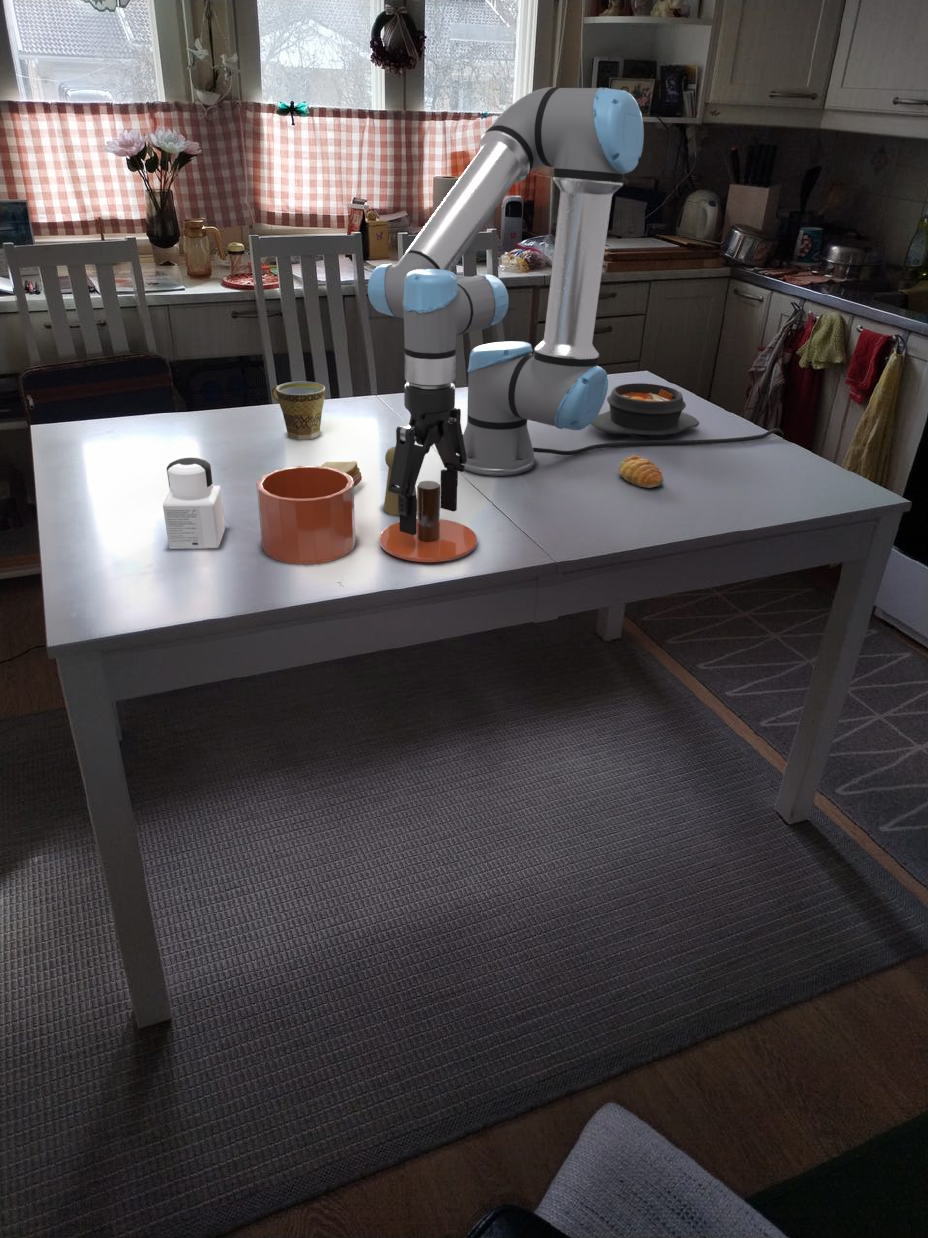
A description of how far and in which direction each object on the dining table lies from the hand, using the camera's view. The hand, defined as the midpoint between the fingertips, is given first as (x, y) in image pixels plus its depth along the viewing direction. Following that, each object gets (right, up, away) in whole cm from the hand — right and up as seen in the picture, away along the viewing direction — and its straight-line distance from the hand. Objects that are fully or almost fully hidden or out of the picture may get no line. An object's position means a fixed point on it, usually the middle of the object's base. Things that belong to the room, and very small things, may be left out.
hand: (428, 520), depth 146 cm
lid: (0, -3, +2) cm, 3 cm away
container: (-37, -3, +2) cm, 37 cm away
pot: (-19, -4, +1) cm, 20 cm away
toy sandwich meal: (-20, +8, +22) cm, 31 cm away
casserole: (+45, +26, +56) cm, 77 cm away
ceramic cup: (-29, +23, +48) cm, 61 cm away
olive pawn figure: (-5, +3, +14) cm, 16 cm away
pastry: (+40, +11, +30) cm, 51 cm away
